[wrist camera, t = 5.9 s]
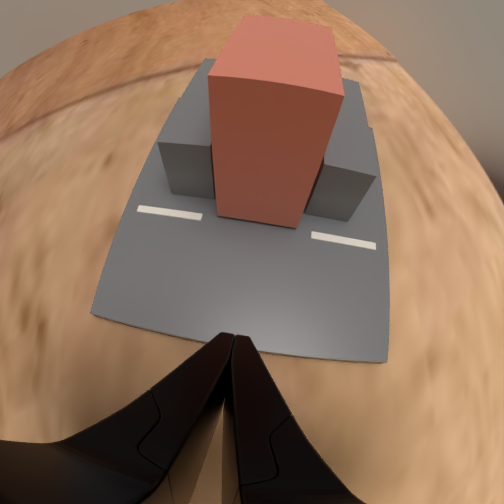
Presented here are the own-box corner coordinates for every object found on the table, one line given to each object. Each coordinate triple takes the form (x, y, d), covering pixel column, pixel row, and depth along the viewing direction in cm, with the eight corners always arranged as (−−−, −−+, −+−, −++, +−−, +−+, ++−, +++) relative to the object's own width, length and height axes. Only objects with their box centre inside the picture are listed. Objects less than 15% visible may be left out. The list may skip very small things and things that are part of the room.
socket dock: (381, 363, 16) (437, 351, 11) (95, 316, 16) (45, 287, 11) (369, 133, 24) (390, 86, 19) (180, 104, 24) (173, 53, 19)
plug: (296, 228, 18) (344, 95, 9) (217, 215, 18) (207, 75, 9) (303, 141, 21) (331, 27, 12) (239, 131, 22) (244, 14, 12)
